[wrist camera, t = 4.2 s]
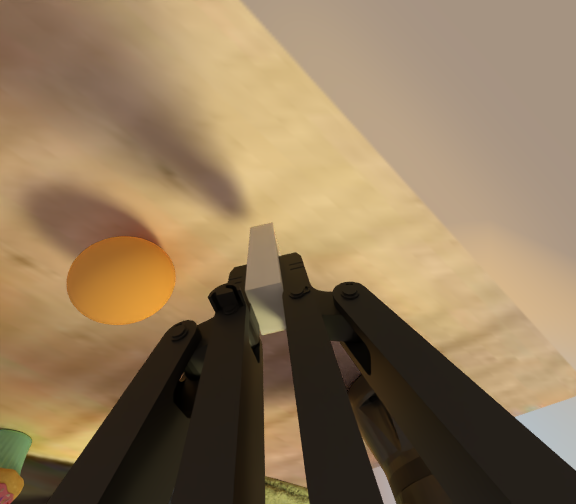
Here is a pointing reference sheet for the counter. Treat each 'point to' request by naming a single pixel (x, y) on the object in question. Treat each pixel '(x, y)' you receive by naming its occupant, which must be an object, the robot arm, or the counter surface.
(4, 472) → the cupcake
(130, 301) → the ball
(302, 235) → the counter surface
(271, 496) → the washcloth
